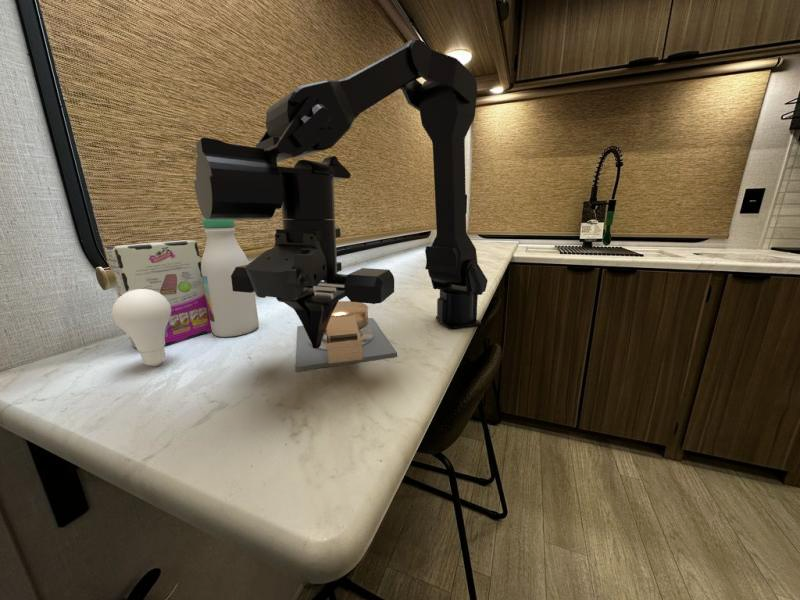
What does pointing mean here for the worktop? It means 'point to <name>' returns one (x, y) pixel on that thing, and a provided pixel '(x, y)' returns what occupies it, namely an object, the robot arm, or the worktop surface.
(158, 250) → the candy bar box
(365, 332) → the white disc
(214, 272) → the milk bottle
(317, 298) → the robot arm
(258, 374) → the worktop surface
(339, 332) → the door handle
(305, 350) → the mat
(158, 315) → the lightbulb
